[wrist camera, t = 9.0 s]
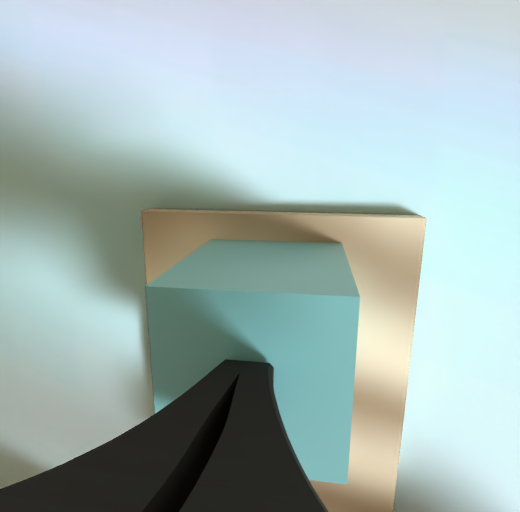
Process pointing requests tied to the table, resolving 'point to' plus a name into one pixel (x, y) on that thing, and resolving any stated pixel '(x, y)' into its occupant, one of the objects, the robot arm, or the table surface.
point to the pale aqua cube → (265, 334)
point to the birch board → (369, 325)
